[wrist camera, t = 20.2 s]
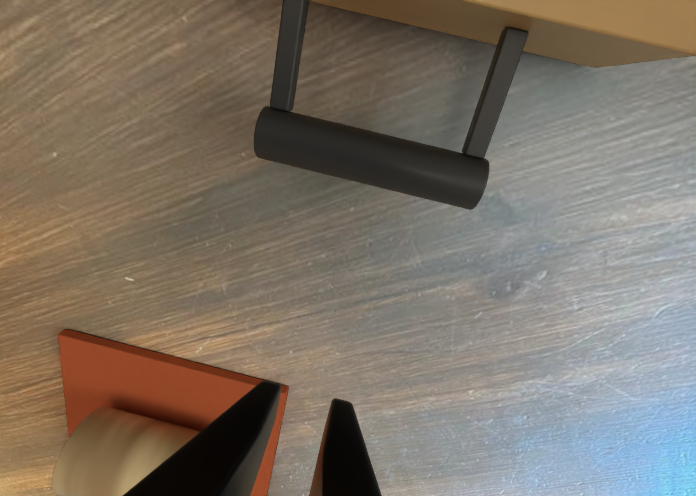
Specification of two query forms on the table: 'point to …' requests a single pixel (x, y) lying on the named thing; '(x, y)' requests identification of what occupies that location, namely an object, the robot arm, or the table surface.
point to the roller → (114, 452)
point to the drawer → (511, 39)
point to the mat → (154, 388)
